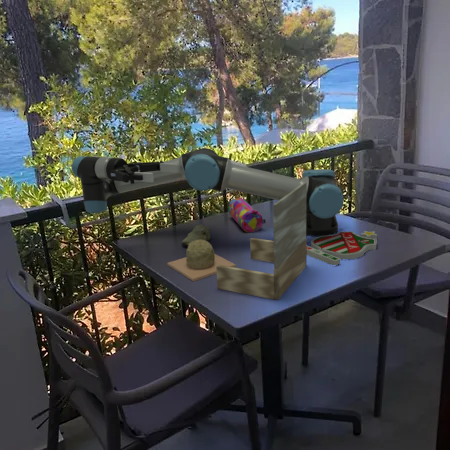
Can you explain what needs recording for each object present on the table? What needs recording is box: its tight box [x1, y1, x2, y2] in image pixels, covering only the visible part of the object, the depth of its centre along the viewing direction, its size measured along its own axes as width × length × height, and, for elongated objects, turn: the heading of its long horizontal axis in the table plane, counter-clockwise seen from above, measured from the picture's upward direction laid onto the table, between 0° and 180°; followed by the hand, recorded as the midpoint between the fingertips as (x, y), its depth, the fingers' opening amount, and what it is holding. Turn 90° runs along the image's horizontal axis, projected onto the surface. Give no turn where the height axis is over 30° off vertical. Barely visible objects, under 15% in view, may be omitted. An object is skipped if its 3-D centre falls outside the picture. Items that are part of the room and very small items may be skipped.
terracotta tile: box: [166, 253, 237, 282], centre depth 152 cm, size 16×16×1 cm
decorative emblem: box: [307, 230, 378, 266], centre depth 162 cm, size 19×2×30 cm
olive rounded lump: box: [185, 239, 215, 269], centre depth 151 cm, size 9×10×10 cm
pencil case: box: [227, 197, 267, 233], centre depth 188 cm, size 22×9×9 cm, turn 17°
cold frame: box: [216, 182, 308, 301], centre depth 138 cm, size 19×24×27 cm
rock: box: [181, 224, 211, 247], centre depth 172 cm, size 11×6×10 cm
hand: (165, 173), depth 148 cm, fingers open, 13 cm apart
